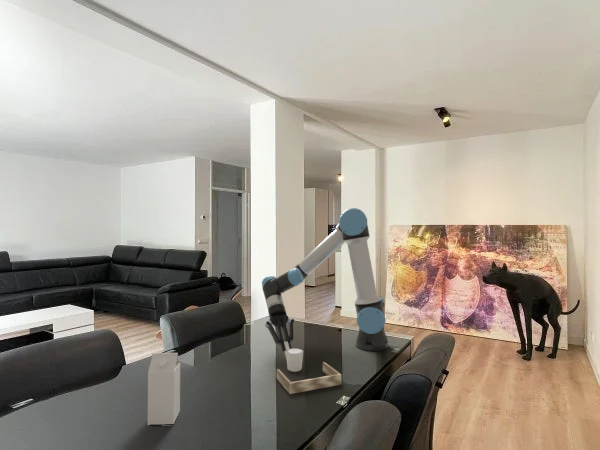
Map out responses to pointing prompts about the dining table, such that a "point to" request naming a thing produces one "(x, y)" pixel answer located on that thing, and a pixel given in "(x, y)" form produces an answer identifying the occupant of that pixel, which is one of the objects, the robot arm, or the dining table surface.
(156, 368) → the milk carton
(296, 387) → the bay
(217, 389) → the dining table surface
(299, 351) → the white cup
